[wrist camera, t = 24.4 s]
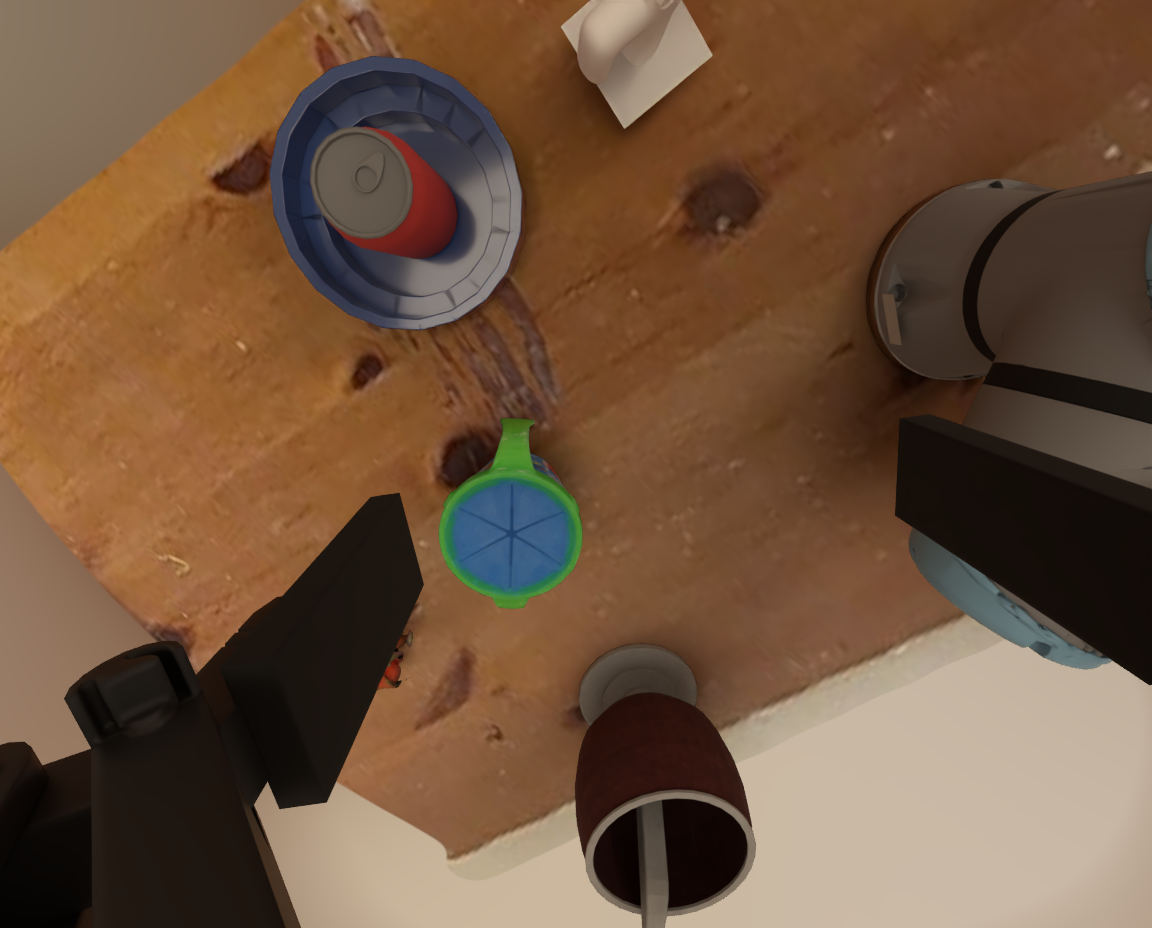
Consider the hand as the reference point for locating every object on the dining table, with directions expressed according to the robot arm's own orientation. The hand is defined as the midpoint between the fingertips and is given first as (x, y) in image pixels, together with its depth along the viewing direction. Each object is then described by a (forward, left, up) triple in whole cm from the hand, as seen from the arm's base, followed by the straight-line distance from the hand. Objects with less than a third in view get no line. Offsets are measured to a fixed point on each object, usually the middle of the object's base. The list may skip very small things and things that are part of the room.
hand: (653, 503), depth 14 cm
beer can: (+17, 0, -32) cm, 36 cm away
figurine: (+11, -18, -33) cm, 39 cm away
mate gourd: (-27, +24, -33) cm, 49 cm away
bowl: (+17, 0, -33) cm, 37 cm away
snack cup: (-3, +13, -33) cm, 36 cm away
